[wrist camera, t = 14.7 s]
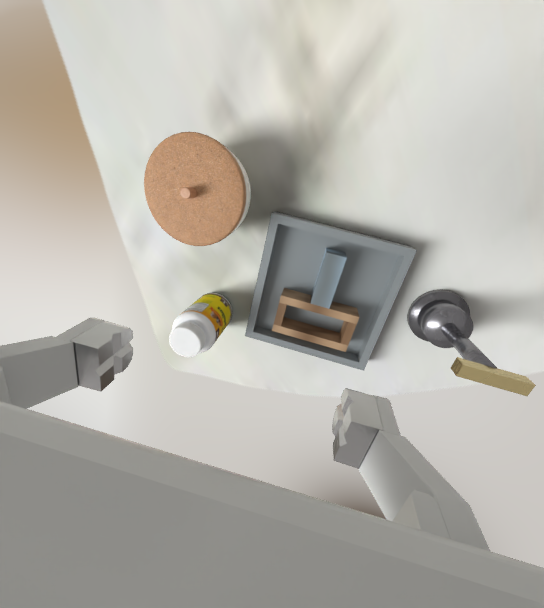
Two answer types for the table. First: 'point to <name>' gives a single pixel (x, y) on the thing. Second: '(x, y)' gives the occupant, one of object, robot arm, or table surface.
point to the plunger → (459, 339)
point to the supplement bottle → (200, 325)
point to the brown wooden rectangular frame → (319, 307)
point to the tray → (350, 290)
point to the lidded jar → (196, 188)
